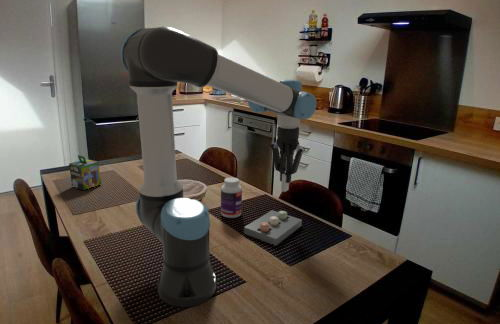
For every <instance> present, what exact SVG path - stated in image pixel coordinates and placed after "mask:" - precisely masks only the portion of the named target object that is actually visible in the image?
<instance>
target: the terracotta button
mask: <svg viewBox="0 0 500 324" xmlns="http://www.w3.org/2000/svg"><path fill="white" fill-rule="evenodd" d="M269 225H270V224H269V223H267V222H262V223H260V231H261V232H263V233H268V232H269Z"/></svg>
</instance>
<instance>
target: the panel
mask: <svg viewBox="0 0 500 324" xmlns="http://www.w3.org/2000/svg"><path fill="white" fill-rule="evenodd" d="M278 212H279V211H277V210H276V211H275V210H274V209H272V210H270V211H268V212H267V213H265V214H264V215H262V216H260V217H259V218H256V219H255V220H254V221H252V222H250V223H249V224H246V225H245V226H244V228H243V234H245V235H246V236H249V237H252V238H255V239H257V240H259V239H260V241H262V242H265V243H268V244H270V245H272V244H273V245H272V246H278V245H279V244H280V243H282V242H283V241H284V240H285V239H286V238H288V237H289V236H290V235H292V234H293V233H294V232H296V231H297V230H298V229H299V228H301V227H302V222H303V219H300V218H298V217H294V216H292V215H288V214H287V220H285V221H283V220H280V219H279V222H278V226H277V227H274V226H271V225H269V232H268V233H263V232H261V231H260V223H262V222H267V223H269V221H270V217H272V216H276V217H278Z"/></svg>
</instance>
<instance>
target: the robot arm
mask: <svg viewBox="0 0 500 324" xmlns="http://www.w3.org/2000/svg"><path fill="white" fill-rule="evenodd" d="M120 59H121V63H122V65H123V67H124V68H125V70H126V71H127V72H128V73H127V74H128V75H127V76H128V83H129V84H128V85H129V88H130V89H131V90H132V91H133V92H135V93H136V101H137V112H138V125H139V134H140V135H139V136H140V147H141V160H142V169H143V179H144V182H143V183H142V184H141V185H140V187H139V190H138V191H139V196H138V197H137V200H136V202H135V213H136V215H137V217H138V219H139V221H140V222H141V224H142V225H143V226H144V227H146V228H147V229H148V230H149V231H150V232H151V233H152V234H153V235H154V236H155V237H156V238H157V239H158V240H159V241H160V242H161V245H162V256H163V257H162V258H163V265H162V268H161V272H160V275H159V277H158V281H157V294H158V297H159V298H160V300H162V301H163V302H164V303H165V304H166V305H170V306H172V307H179V308H188V307H194V306H197V305H200V304H203V303H205V302H207V301H208V300H210V298H212V297H213V295H214V294H215V292H216V291H217V278H216V277H217V276H216V274H215V272H214V269H213V266H212V263H211V261H210V228H211V220H210V212H209V209H208V208H207V206H206V205H205V203H203V202H202V201H200V200H197V199H196V198H194V199H191V198H190V197H184V185H183V184H182V182H180V181H179V180H178V178H177V175H178V174H177V162H176V160H177V158H176V144H175V125H174V122H175V121H174V110H173V109H174V108H173V107H174V106H173V92H174V91H175V89H177V88H178V83H180V84H181V83H183V84H188V85H191V86H195V87H197V88H205V87H207V86H208V87H210V88H212V89H215V90H219V91H220V92H224V93H226V94H229V95H232V96H234V97H237V98H240V99H242V100H245V101H247V104H248V107H249V108H250V110H251V111H252V112H254V113H265V112H266V113H272V114H275V115H277V125H278V126H277V129H276V137H277V138H276V140H275V142H273V143H270V144H269V146H270V148H271V151H272V156H273V164H274V167H275V169H274V170H275V171H276V172H279V181H280V182H281V188H280V190H281V192H283V193H286V192H287V191H289V187H290V183H291V182H292V175H295V174H296V173H297V172H298V169H299V166H300V163H301V159H302V156H303V153H304V152H305V151H306V148H305V147H302V146H300V142H299V138H300V137H299V136H300V128H299V126H300V123H301V122H300V121H301V120H308V119H310V118H312V117H313V115H314V114H315V112H316V110H317V109H316V108H317V99H316V97H315V96H314V94H312V93H310V92H306V91H303V90H302V89H303V86H302V85H303V83H302V81H301V80H299V79H280V81H277V80H275V79H273V78H271V77H268V75H267V76H266V75H264V74H262V73H259V72H258V71H255V70H253V69H251V68H249V67H246V66H244V65H242V64H240V63H238V62H237V61H233V60H232V59H230V58H227V57H225V56H223V55H220V54H219V52H218V50H217V49H216V48H215V47H214V46H212V45H210V44H208V43H206V42H204V41H202V40H200V39H198V38H196V37H194V36H192V35H190V34H188V33H186V32H183V31H182V30H179V29H177V28H174V27H170V26H158V27H157V26H156V27H147V28H146V27H144V28H143V27H142V28H140V29H137V30H135V31H133V32H131V33H129V34H128V35H127V36H126V37H125V39H124V40H123V41H122V45H121V47H120ZM295 151H296V153H295ZM294 154H295V155H294Z"/></svg>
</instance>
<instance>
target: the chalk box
mask: <svg viewBox="0 0 500 324" xmlns="http://www.w3.org/2000/svg"><path fill="white" fill-rule="evenodd" d="M77 158H78V160H76V161H74V162H70V163H68V167H69V172H70V173H69V174H70V180H71V181H70V182H71V187H72V186H74V187H76V188H75V189H77V188H79V189H82V190H86V189H88V190H90V189H89V188H91V187H94V188H96V187H95V186H97V187H99V186H98V185H100V184H101V185H102V178H101V171H100V164H99V161H97V160H94V159H93V160H92V159H88V158H85V156H82V155H80V154H78V155H77ZM101 185H100V186H101ZM74 187H73V188H74ZM79 189H78V190H79ZM91 189H92V188H91ZM82 190H81V191H82ZM86 191H87V190H86Z"/></svg>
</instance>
